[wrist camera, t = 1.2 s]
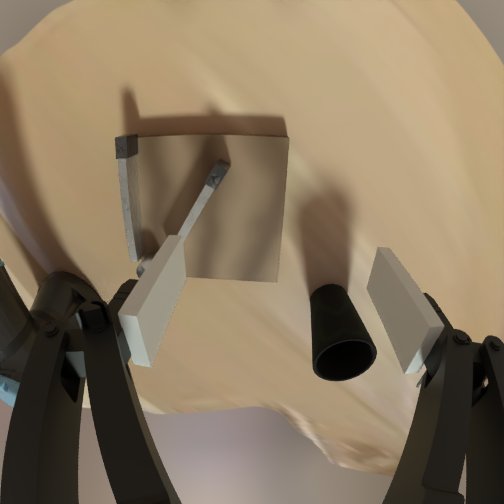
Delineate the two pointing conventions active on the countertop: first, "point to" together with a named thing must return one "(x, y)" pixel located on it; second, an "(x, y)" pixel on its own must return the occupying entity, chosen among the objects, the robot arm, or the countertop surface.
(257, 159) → the board
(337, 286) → the cup
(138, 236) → the tongs fixed
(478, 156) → the countertop surface
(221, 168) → the tong arm
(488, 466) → the robot arm
